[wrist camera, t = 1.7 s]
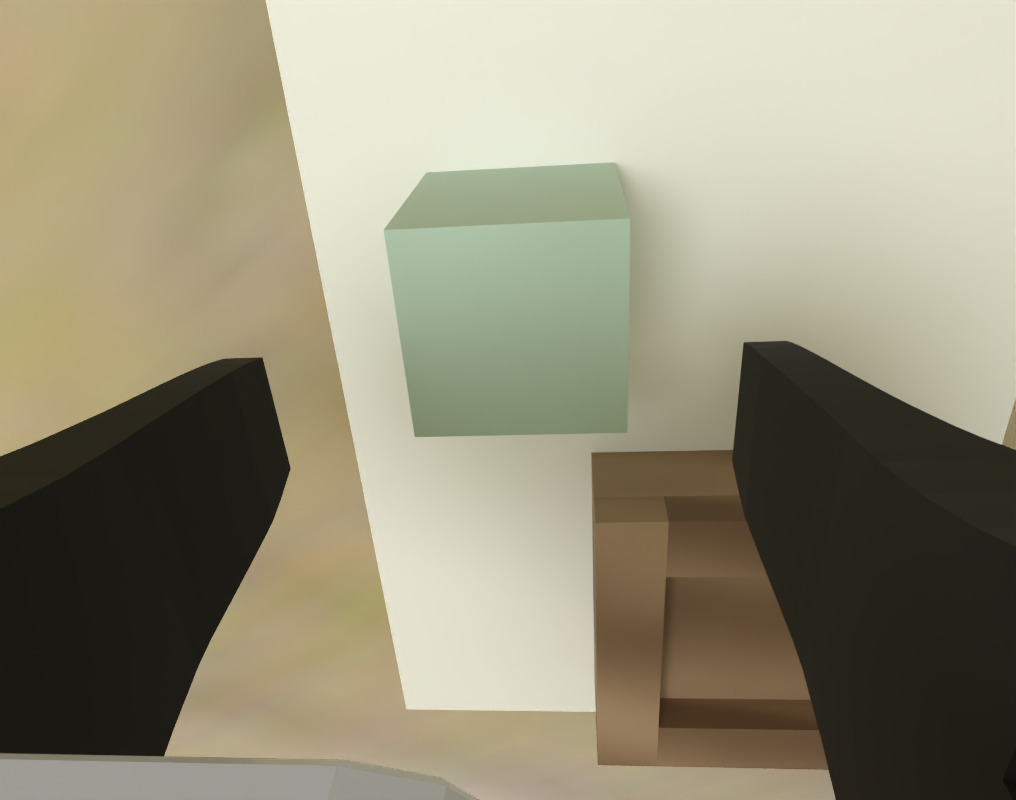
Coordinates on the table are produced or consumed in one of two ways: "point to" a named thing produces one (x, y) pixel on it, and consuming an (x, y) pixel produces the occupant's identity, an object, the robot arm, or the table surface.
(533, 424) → the sage block
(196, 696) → the table surface
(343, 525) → the table surface
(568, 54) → the cream board
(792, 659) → the walnut socket base
